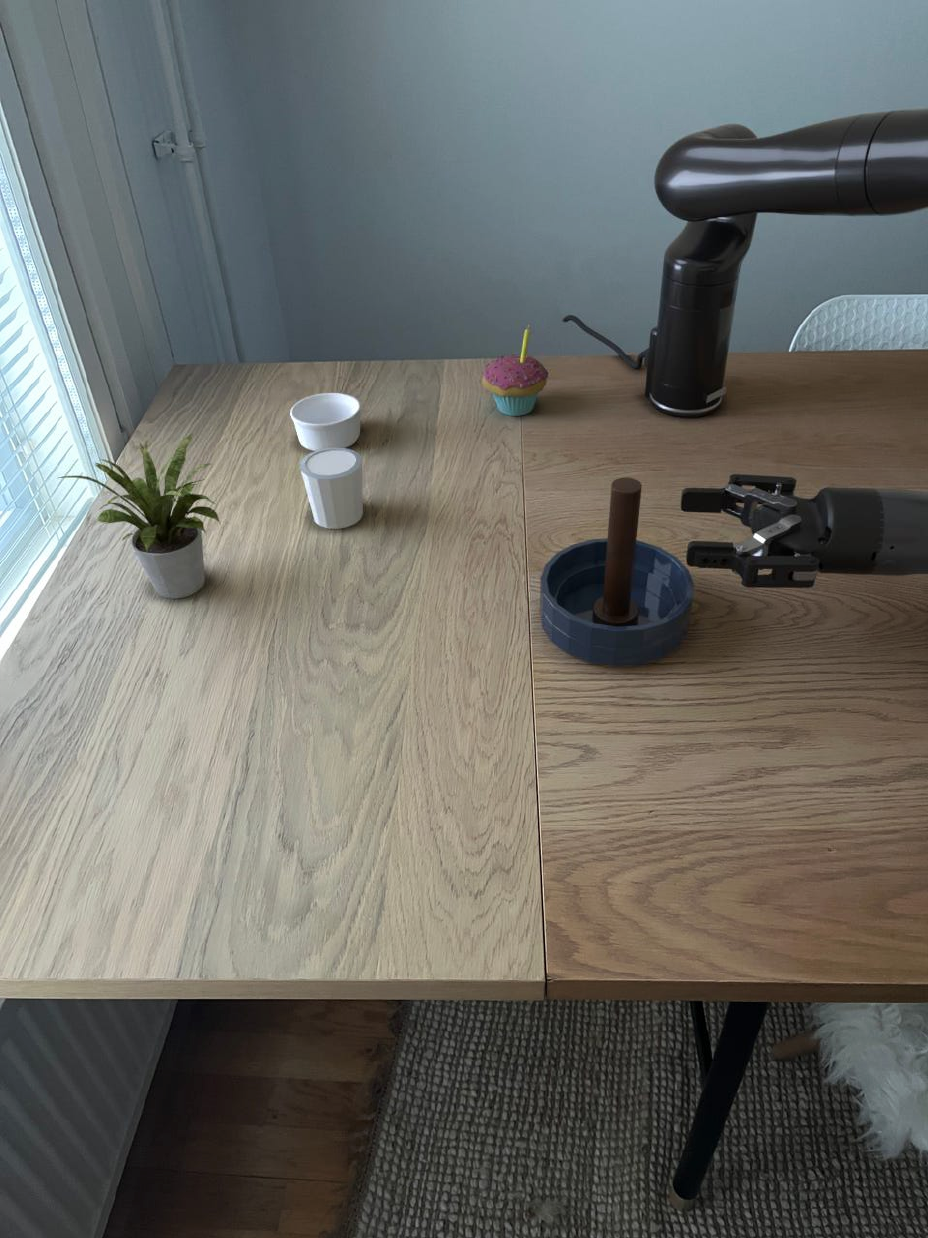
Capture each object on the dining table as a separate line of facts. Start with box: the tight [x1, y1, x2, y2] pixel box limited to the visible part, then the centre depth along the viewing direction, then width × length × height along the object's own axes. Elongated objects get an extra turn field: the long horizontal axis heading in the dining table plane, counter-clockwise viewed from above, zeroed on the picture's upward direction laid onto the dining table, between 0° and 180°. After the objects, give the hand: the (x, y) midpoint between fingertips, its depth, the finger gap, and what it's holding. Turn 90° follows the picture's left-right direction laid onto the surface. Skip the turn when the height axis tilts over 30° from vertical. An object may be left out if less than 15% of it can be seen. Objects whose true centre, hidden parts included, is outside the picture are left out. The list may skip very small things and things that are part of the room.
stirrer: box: [592, 477, 643, 627], centre depth 87 cm, size 4×4×15 cm
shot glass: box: [299, 447, 364, 530], centre depth 106 cm, size 7×7×7 cm
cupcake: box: [482, 323, 549, 417], centre depth 123 cm, size 9×8×12 cm
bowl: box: [539, 537, 696, 668], centre depth 91 cm, size 14×14×5 cm
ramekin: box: [289, 392, 361, 452], centre depth 121 cm, size 9×9×4 cm
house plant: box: [58, 432, 221, 600], centre depth 94 cm, size 14×14×16 cm
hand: (684, 525), depth 84 cm, fingers open, 8 cm apart
